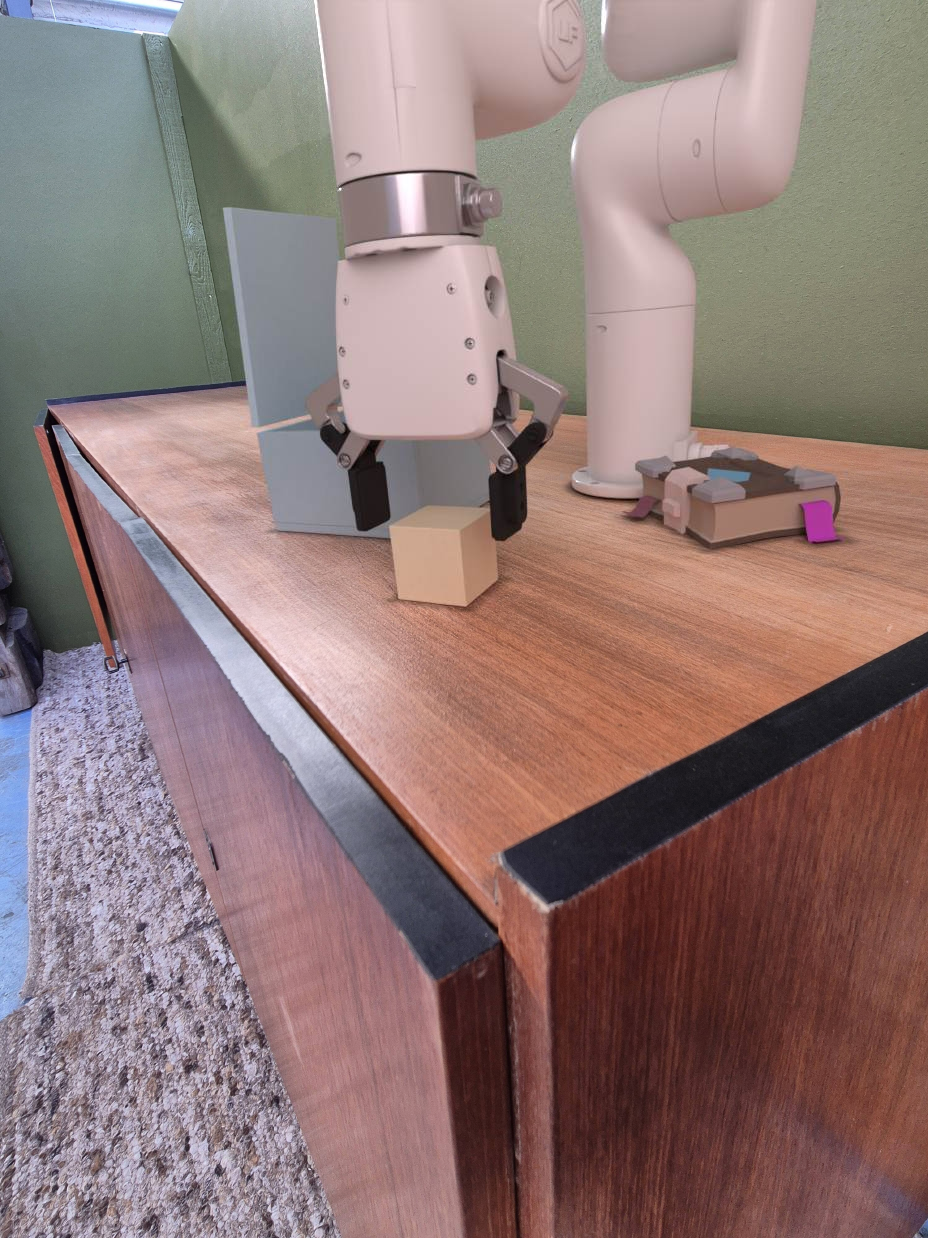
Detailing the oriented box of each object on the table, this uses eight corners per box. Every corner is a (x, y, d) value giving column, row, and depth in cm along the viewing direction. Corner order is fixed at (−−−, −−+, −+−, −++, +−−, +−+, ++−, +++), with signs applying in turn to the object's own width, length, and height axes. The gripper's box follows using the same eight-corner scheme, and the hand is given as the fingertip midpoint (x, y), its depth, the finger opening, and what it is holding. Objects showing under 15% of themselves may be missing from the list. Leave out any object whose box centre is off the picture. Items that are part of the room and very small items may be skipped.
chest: (492, 498, 69) (486, 404, 65) (423, 541, 58) (411, 430, 54) (359, 493, 76) (347, 408, 72) (275, 530, 65) (256, 432, 61)
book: (589, 501, 66) (589, 446, 64) (710, 484, 68) (713, 430, 66) (703, 567, 48) (707, 493, 46) (862, 540, 50) (872, 469, 48)
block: (498, 579, 48) (493, 507, 46) (466, 607, 44) (459, 529, 42) (434, 573, 50) (427, 504, 49) (397, 599, 46) (388, 525, 44)
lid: (336, 218, 65) (296, 220, 67) (230, 206, 54) (185, 209, 56) (350, 403, 72) (313, 401, 74) (258, 427, 61) (218, 423, 63)
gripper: (585, 210, 38) (587, 522, 45) (325, 248, 46) (359, 509, 52) (534, 194, 32) (545, 558, 38) (243, 241, 40) (293, 538, 46)
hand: (438, 530), depth 45 cm, fingers open, 9 cm apart
